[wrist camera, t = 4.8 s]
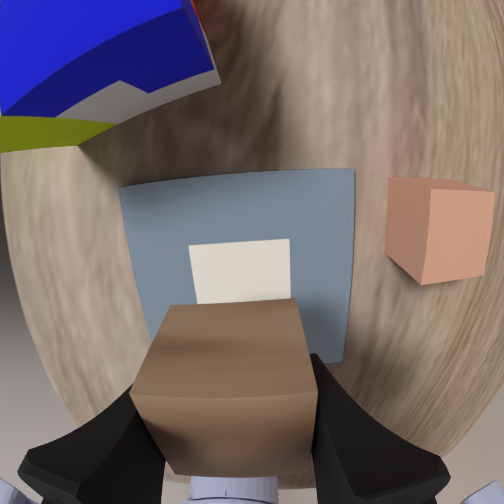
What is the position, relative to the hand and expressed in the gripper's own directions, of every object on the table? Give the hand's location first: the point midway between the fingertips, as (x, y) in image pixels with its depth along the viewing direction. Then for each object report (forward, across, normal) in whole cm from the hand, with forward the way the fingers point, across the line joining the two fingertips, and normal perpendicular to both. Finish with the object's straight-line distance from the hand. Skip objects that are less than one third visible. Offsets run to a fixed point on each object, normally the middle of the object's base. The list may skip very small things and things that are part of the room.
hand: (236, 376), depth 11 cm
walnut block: (+2, 0, 0) cm, 2 cm away
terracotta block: (+8, -12, -4) cm, 15 cm away
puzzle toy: (+9, +6, -16) cm, 19 cm away
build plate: (+8, 0, 0) cm, 8 cm away
